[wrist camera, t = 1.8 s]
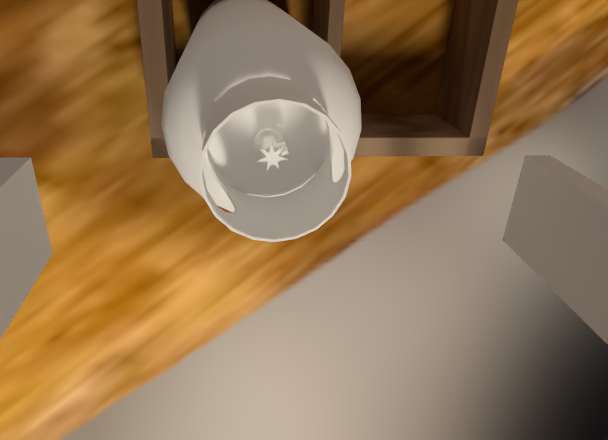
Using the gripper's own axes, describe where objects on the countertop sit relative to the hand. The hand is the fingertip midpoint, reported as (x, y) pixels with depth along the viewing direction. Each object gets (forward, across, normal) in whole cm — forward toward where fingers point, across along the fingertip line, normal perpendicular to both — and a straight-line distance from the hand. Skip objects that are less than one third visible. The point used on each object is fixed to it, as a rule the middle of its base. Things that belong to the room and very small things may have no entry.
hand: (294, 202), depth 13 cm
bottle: (+30, 0, 0) cm, 30 cm away
